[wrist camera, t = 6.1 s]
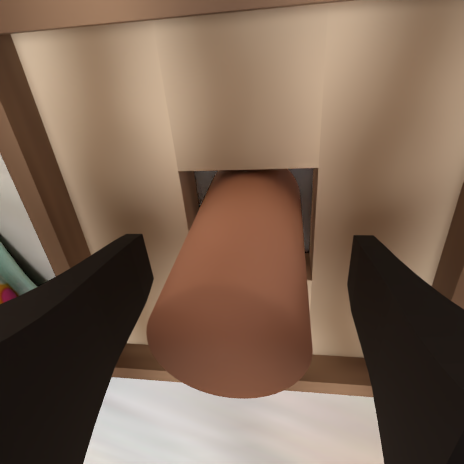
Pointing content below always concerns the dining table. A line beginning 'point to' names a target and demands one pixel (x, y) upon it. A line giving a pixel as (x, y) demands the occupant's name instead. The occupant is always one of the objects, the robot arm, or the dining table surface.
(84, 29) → the walnut box
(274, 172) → the peg
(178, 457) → the dining table surface
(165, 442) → the dining table surface
